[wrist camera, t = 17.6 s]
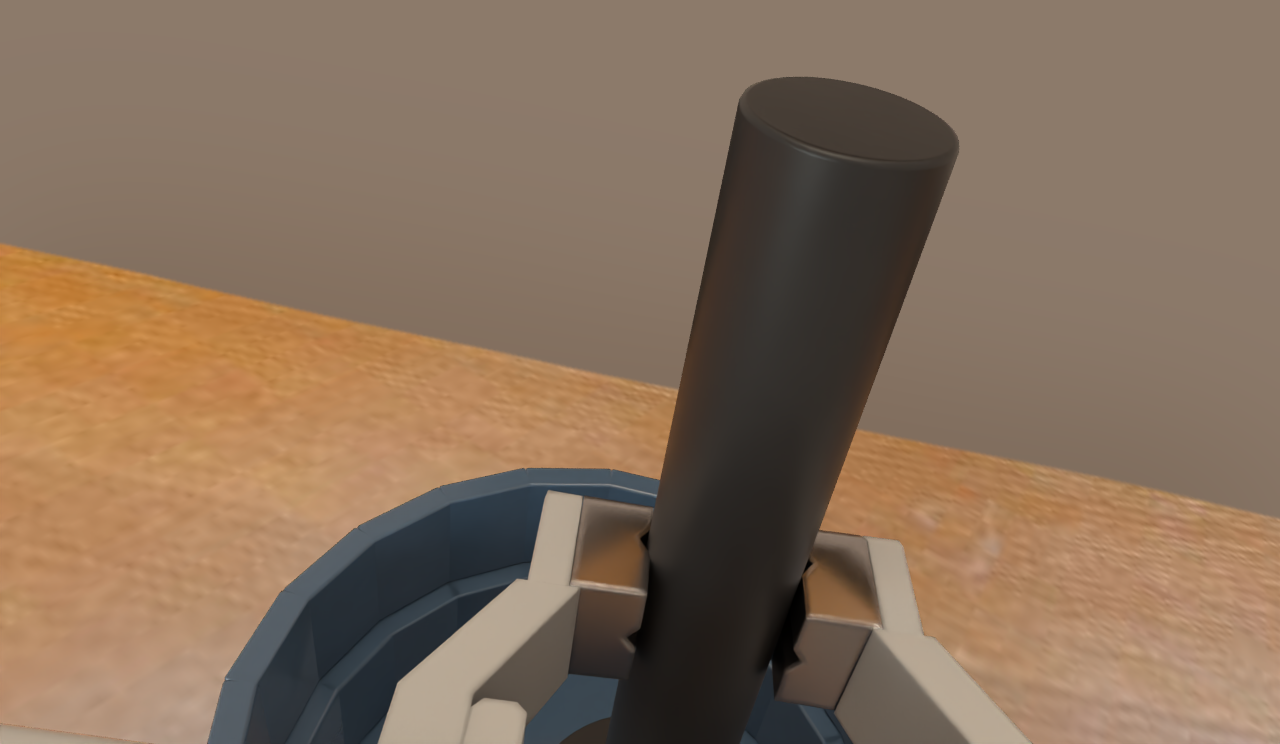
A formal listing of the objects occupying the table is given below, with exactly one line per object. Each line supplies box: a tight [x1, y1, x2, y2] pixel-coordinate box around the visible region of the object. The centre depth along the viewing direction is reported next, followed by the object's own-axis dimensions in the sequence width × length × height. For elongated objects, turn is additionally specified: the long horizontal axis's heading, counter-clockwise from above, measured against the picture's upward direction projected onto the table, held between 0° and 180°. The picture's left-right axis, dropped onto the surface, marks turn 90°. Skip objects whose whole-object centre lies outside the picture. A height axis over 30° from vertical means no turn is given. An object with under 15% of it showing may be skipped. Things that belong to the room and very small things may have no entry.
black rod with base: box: [559, 77, 959, 744], centre depth 13 cm, size 4×4×16 cm
